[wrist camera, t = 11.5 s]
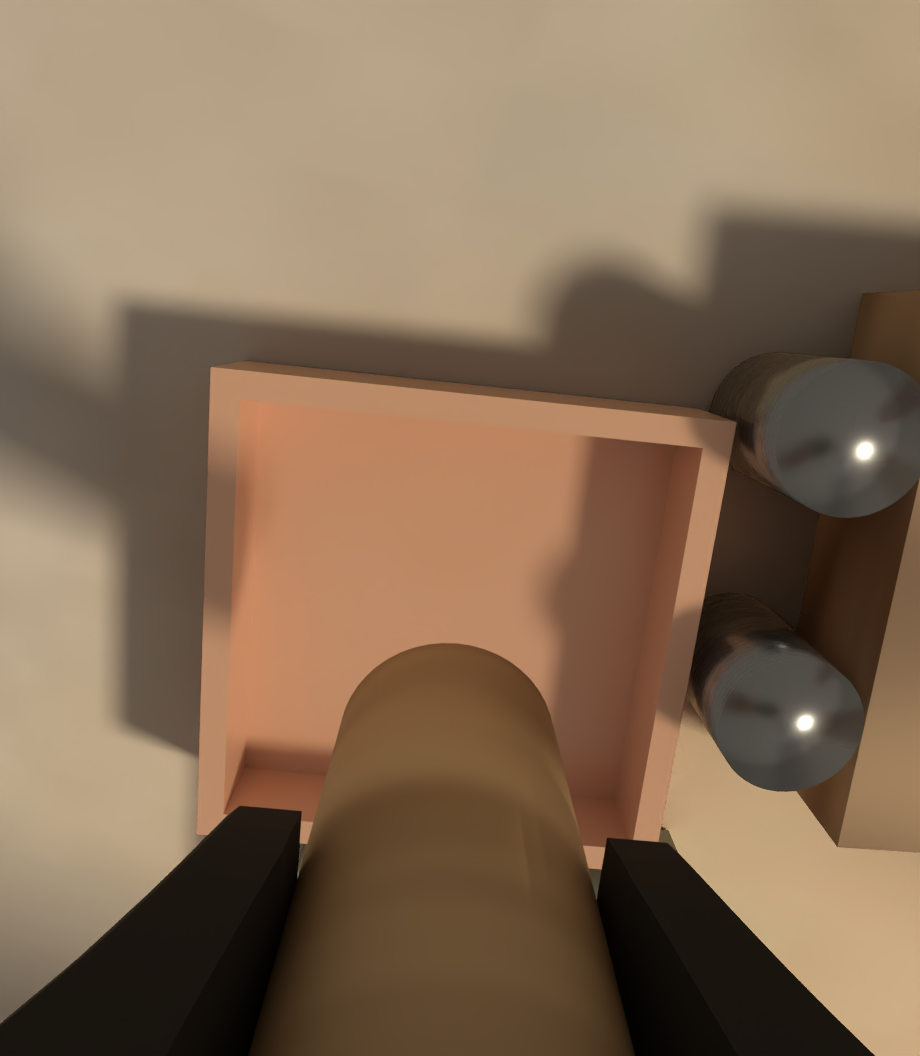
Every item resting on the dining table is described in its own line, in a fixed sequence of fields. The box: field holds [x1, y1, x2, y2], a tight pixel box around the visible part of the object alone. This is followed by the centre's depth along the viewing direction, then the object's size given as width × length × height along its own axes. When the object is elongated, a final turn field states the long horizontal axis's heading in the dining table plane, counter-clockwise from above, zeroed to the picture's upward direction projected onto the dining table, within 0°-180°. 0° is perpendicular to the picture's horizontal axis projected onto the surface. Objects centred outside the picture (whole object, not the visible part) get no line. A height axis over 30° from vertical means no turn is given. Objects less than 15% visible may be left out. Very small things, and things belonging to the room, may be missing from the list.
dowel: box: [248, 643, 635, 1056], centre depth 8 cm, size 3×3×7 cm
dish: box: [197, 361, 737, 869], centre depth 16 cm, size 9×9×2 cm
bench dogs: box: [686, 352, 920, 792], centre depth 15 cm, size 8×2×4 cm, turn 174°
